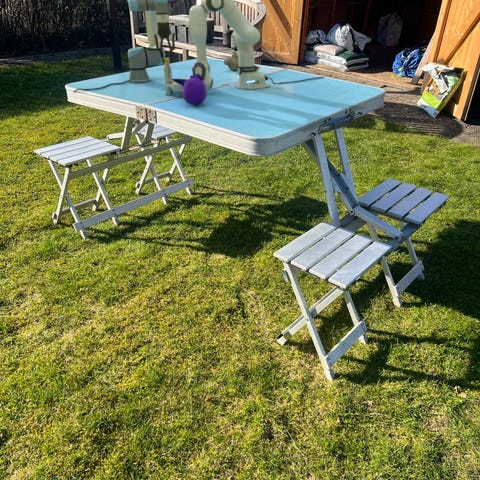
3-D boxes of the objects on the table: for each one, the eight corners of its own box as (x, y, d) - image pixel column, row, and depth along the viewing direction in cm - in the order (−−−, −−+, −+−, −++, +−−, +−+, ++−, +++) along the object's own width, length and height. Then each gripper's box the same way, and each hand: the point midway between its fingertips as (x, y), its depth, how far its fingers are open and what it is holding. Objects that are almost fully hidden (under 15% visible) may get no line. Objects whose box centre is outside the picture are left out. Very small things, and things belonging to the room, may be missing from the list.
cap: (166, 62, 286) (166, 59, 285) (162, 62, 288) (161, 58, 287) (171, 62, 289) (171, 58, 288) (166, 61, 291) (166, 57, 290)
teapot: (227, 73, 361) (227, 53, 353) (221, 70, 369) (220, 51, 362) (250, 70, 370) (250, 50, 362) (243, 68, 378) (242, 49, 371)
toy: (196, 96, 291) (207, 111, 270) (169, 91, 283) (179, 106, 263) (201, 71, 283) (213, 84, 262) (173, 66, 275) (184, 79, 255)
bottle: (174, 93, 300) (171, 59, 289) (172, 95, 296) (169, 60, 285) (167, 93, 301) (164, 58, 290) (165, 95, 297) (161, 60, 286)
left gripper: (150, 23, 271) (154, 64, 283) (178, 21, 276) (181, 62, 288) (148, 22, 278) (152, 62, 289) (175, 21, 282) (178, 60, 294)
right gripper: (190, 76, 302) (170, 76, 303) (185, 82, 284) (163, 82, 285) (191, 85, 305) (171, 85, 306) (185, 92, 287) (164, 92, 288)
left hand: (166, 62), depth 289 cm, fingers closed on cap, 4 cm apart
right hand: (167, 84), depth 295 cm, fingers closed on bottle, 5 cm apart
